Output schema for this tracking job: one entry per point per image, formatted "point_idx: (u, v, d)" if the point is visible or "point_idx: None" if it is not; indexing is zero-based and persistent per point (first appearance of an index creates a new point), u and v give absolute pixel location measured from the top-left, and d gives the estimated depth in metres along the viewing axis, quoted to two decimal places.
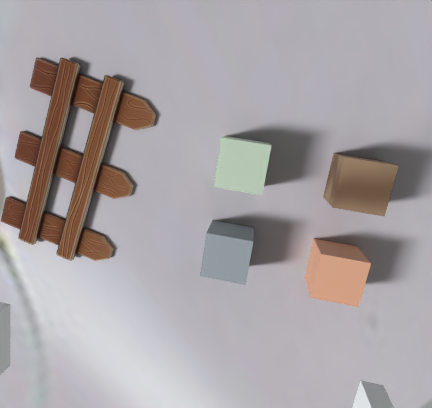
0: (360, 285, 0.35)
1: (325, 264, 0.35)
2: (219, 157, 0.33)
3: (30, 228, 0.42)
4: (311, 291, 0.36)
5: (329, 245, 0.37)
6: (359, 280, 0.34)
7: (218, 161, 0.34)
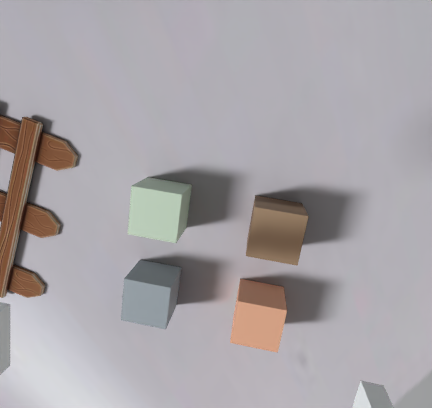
0: (278, 331, 0.34)
1: (242, 311, 0.34)
2: (131, 205, 0.33)
3: None
4: (231, 336, 0.35)
5: (252, 287, 0.37)
6: (276, 327, 0.34)
7: (130, 209, 0.33)
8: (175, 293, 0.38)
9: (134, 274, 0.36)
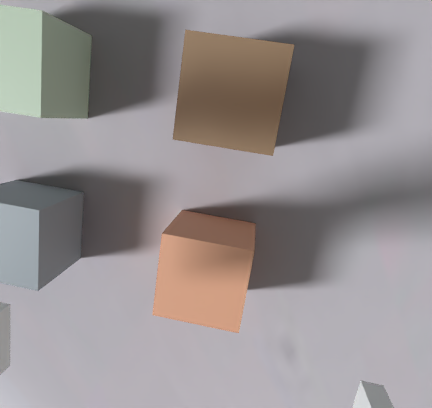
0: (239, 292, 0.18)
1: (171, 253, 0.18)
2: None
3: None
4: None
5: (199, 220, 0.21)
6: (235, 283, 0.18)
7: None
8: (68, 233, 0.22)
9: None
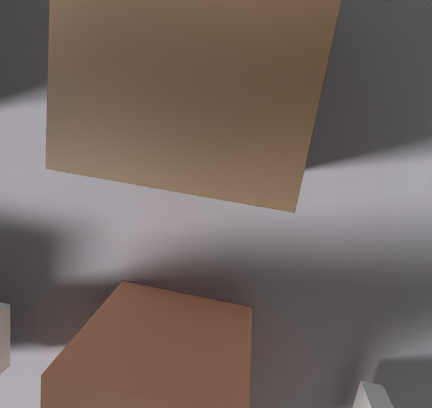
0: None
1: None
2: None
3: None
4: None
5: (147, 311, 0.11)
6: None
7: None
8: None
9: None
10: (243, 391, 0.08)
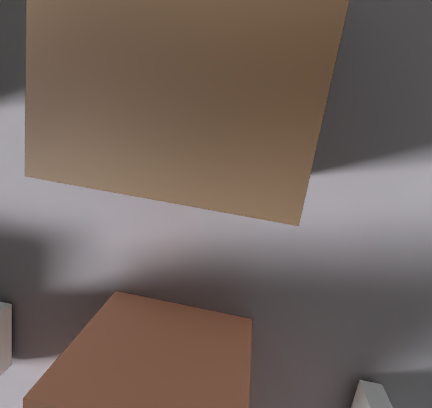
0: None
1: None
2: None
3: None
4: None
5: (140, 324, 0.10)
6: None
7: None
8: None
9: None
10: None
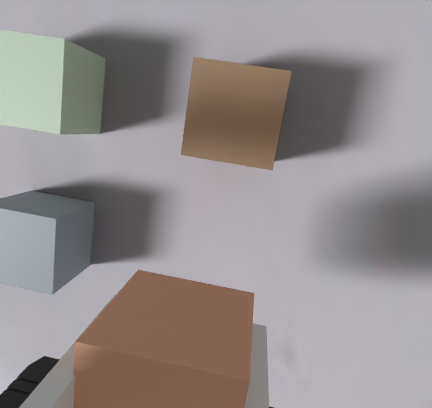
0: None
1: (95, 377, 0.10)
2: None
3: None
4: None
5: (161, 295, 0.13)
6: None
7: None
8: (80, 241, 0.24)
9: (4, 201, 0.22)
10: (245, 358, 0.10)
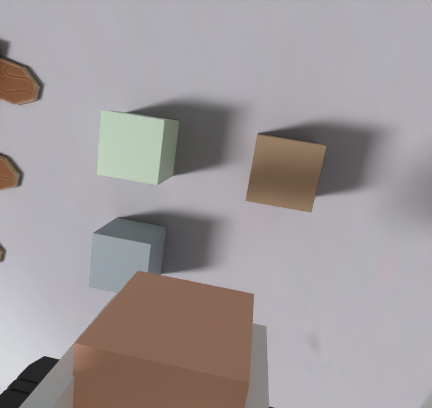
0: None
1: (94, 379, 0.10)
2: (101, 136, 0.26)
3: None
4: None
5: (160, 296, 0.13)
6: None
7: (100, 141, 0.26)
8: (158, 257, 0.31)
9: (106, 229, 0.29)
10: (245, 359, 0.10)
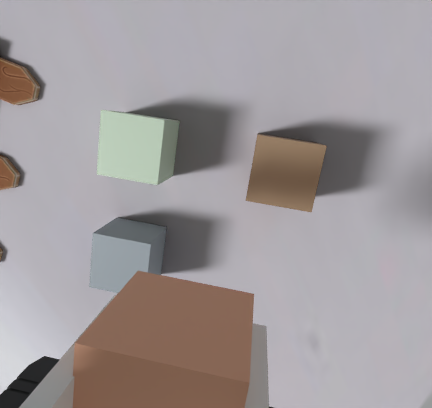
0: None
1: (94, 379, 0.10)
2: (101, 136, 0.26)
3: None
4: None
5: (160, 296, 0.13)
6: None
7: (100, 141, 0.26)
8: (158, 257, 0.31)
9: (106, 229, 0.29)
10: (245, 359, 0.10)
